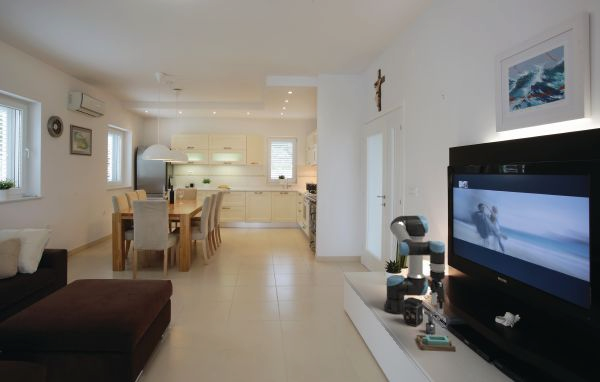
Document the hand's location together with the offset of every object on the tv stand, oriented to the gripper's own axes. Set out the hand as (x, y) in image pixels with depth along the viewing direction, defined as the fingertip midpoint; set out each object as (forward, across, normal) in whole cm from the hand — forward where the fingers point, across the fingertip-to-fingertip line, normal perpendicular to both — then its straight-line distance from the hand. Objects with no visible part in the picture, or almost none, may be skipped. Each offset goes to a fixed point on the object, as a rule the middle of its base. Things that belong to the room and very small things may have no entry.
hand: (437, 309), depth 192 cm
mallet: (+19, -13, 0) cm, 23 cm away
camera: (+20, -26, -8) cm, 34 cm away
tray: (+19, +2, -1) cm, 19 cm away
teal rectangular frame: (+18, +2, -1) cm, 19 cm away
